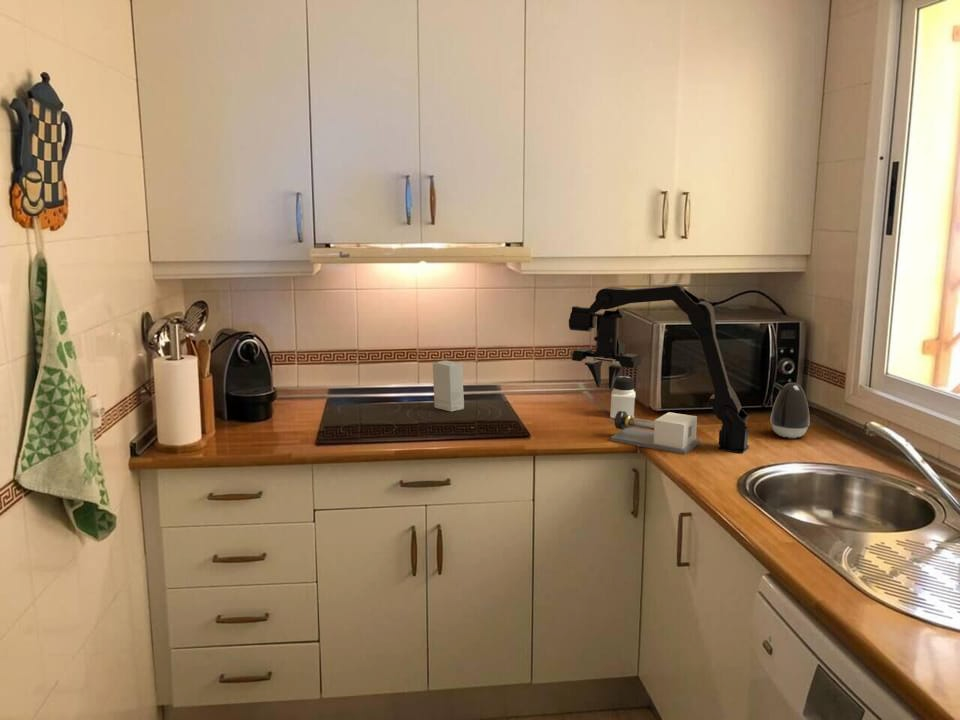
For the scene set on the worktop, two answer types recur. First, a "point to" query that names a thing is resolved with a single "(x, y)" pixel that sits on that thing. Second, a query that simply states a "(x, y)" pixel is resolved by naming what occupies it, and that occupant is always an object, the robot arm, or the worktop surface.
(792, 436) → the dark grey egg shape
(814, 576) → the worktop surface
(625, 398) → the medicine bottle
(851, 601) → the worktop surface
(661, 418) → the bearing block
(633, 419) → the metal shaft
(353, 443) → the worktop surface
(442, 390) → the skincare box
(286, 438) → the worktop surface
